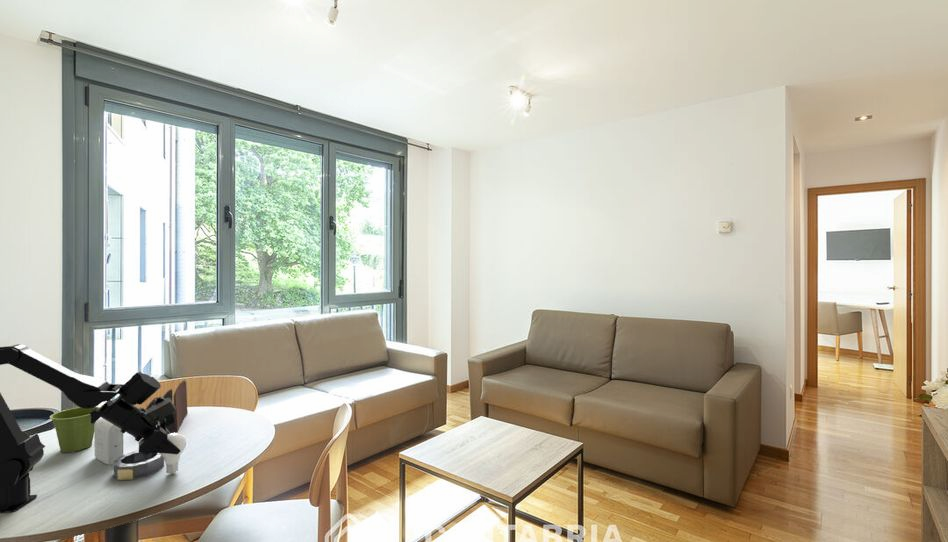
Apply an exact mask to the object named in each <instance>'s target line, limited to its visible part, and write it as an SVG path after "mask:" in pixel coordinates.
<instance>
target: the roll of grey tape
mask: <svg viewBox="0 0 948 542" xmlns="http://www.w3.org/2000/svg"><path fill="white" fill-rule="evenodd" d="M164 466H165V460H164V458H163V457H162V456H161V455H160V453H149V454H148V455H146V456H144V455H143V454H141V453H139V450H135V451H134V450H133V451H131V452H128V453H125V454H123V456H120V457H119V458H118V459H116V460H115V461H114V464H113V478H114V479H117V481H127V480H135V479H139V478H143V477H147V476H149V475H152V474H154V473H157V472H158V471H160V470H161V469H162V468H163V467H164Z"/></svg>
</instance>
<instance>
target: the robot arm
mask: <svg viewBox="0 0 948 542" xmlns="http://www.w3.org/2000/svg"><path fill="white" fill-rule="evenodd" d="M2 365H11V366H13V367H14V368H17V370H18V369H19V370H21V371H22V372H24V373H27V374H28V375H31V376H32V377H34V378H36V379H39V380H40V381H42V382H44V383H47V384H49V385H50V386H52V387H55V388H56V389H58V390H60V391H61V392H62V393H63V395H65V397H66V398H67V399H68V400H69V401H70V402H71V403H73V404H74V405H76V406H77V407H80V408H84V409H88V408H94V407H100V408H98V409H92V411H91V412H90V415H91V423H92V424H93V423H95V422H96V421H97V420H98V419H100V418H103V419H105V420H106V421H108V422H110V423H112V424H113V425H115V426H117V427H118V428H120V429H121V430H120V432H122V433H123V434H126V433H127V434H129V435H131V436H132V437H134V441H136V442H137V443H138V451H139V453H141V454H143V455H144V456H146V455H148V454H149V453H166V454H179V452H180V449H179V448H178V447H177V446H176V445H175V444H173V443H172V442H171V441H170V440H169V439H168V434H170V432H169V431H168V430H167V428H166V421H165V419H163V418H164V417H165V416H167V415H169V414H172V413H174V412H175V411H176V408H175V406H174V401H173V400H172V401H171V399H170V398H166V399H165V398H163V396H158V397H157V398H156V397H155V398H156V399H155V405H154V406H153V405H152V407H151V408H149V409H147V410H146V408H144V407H137V406H136V405H143V404H144V403H145V402H146V401H147V400H148V399H149V398H151V396H152V395H153V396H154V394H155V393H156V392H157V391H158V390H159V389H160V388H162V387H161V386H162V385H161V384H160V382H159V381H158V380H157V379H156V378H155V377H153V376H151V375H149V374H146V373H143V372H141V371H139V370H138V371H137V372H136V373H134V374H133V375H132V377H131V378H130V379H129V380H127V382H125V383H109V382H108V381H106V380H103V379H101V378H97V377H95V376H91V375H87V374H81V373H77V372H75V371H74V370H73V371H72V370H71V369H70V368H67V367H65V366H63V365H61V364H60V363H57V362H55V361H54V360H52V359H50V358H47V357H46V356H44V355H42V354H40V353H38V352H36V351H34V350H33V349H31V348H30V347H28V346H27V345H25V344H22V343H19V344H13V345H9V346H7V345H6V346H0V366H2ZM116 396H117V397H116ZM115 397H116V398H115ZM102 403H103V404H102ZM99 405H101V406H99ZM160 419H163V420H162V421H161V422H158V421H157V420H160ZM45 447H46V445H44V444H43V443H42V441H41V440H40V435H39V434H38V433H34V434H33V435H31V436H30V435H29V434H27V433H26V432H25V433H24V431H22V429H21V427H20V425H19V424H18V422H17V419H16V418H15V417H14V414H13V413H12V411H11V409H10V407H9V406H8V404H7V402H6V400H5V399H4V397H3V395H2V393H1V392H0V513H5V512H4V511H11V512H15V511H14V510H16V511H17V510H19V509H20V507H21V508H22V507H23V505H24V506H25V505H27V504H28V503H30V502H32V501H33V500H34V499H37V497H38V495H37V494H31V478H30V472H32V471H33V470H34V467H35V466H36V465H37V464H38V463H39V462H40V461H41V460H42V458H43V456H44V454H45V451H44V448H45ZM26 503H27V504H26ZM18 508H19V509H18Z"/></svg>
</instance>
